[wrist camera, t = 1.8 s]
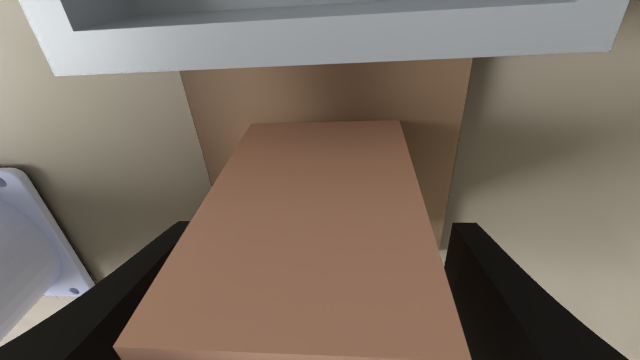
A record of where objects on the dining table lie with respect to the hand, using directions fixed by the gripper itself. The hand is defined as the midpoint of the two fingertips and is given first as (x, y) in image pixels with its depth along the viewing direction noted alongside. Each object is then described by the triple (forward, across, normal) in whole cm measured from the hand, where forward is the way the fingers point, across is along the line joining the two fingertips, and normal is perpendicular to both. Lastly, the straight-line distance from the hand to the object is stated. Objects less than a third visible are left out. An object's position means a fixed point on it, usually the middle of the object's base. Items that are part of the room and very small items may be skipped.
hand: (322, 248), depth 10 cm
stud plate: (+4, 0, 0) cm, 4 cm away
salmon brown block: (+3, 0, 0) cm, 3 cm away
